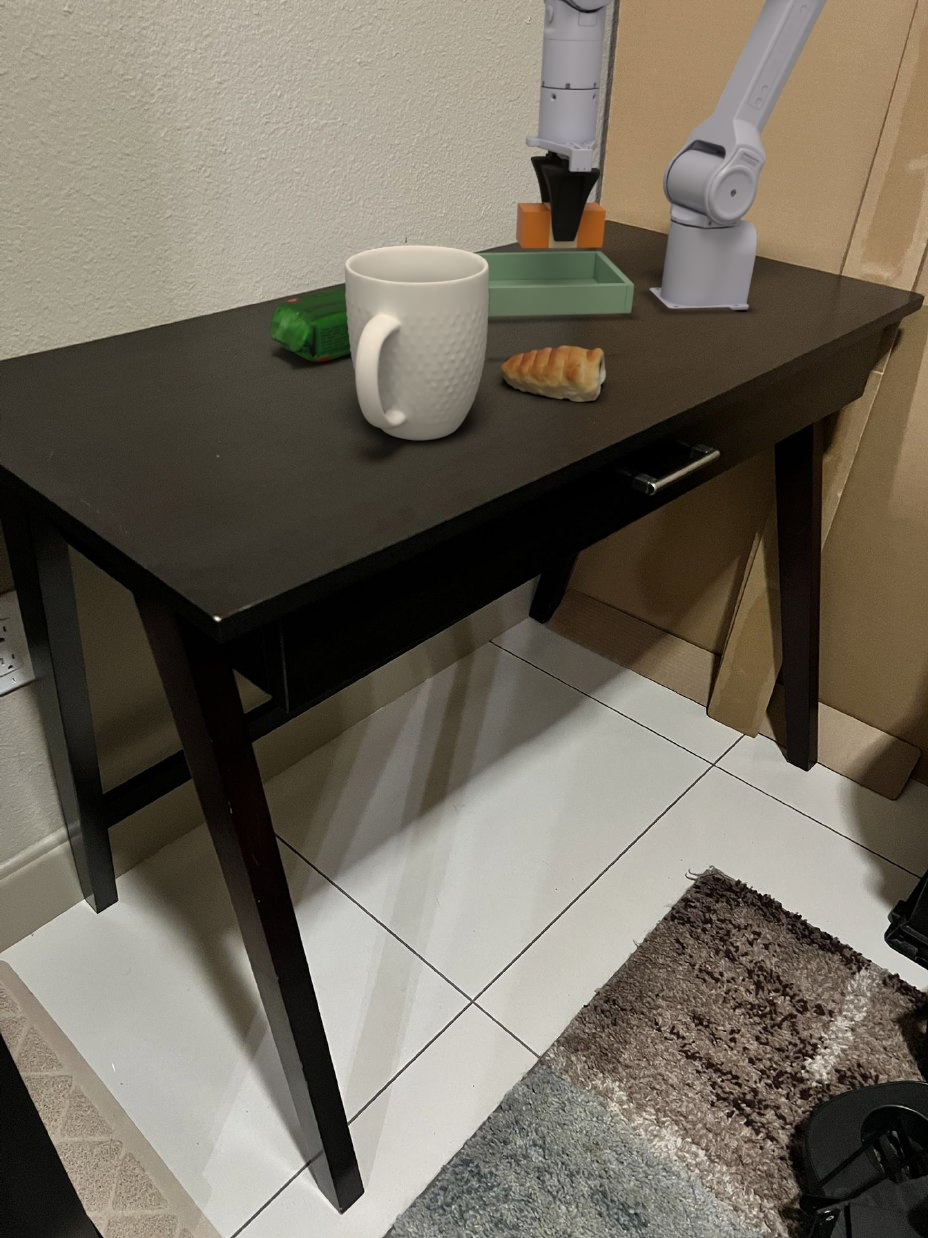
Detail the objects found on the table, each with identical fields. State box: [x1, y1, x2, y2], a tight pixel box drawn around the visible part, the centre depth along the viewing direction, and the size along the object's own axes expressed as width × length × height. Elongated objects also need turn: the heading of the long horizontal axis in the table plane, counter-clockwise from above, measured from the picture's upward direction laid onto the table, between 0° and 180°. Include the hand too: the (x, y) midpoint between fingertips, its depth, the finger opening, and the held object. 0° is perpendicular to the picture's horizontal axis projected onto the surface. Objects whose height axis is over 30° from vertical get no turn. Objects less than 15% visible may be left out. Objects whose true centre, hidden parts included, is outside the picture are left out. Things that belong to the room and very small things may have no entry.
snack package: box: [269, 286, 351, 363], centre depth 91 cm, size 7×16×5 cm, turn 131°
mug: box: [344, 244, 489, 441], centre depth 72 cm, size 15×11×13 cm
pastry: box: [500, 344, 607, 403], centre depth 83 cm, size 9×7×4 cm
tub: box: [473, 250, 635, 318], centre depth 106 cm, size 17×15×4 cm
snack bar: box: [515, 202, 607, 249], centre depth 96 cm, size 8×4×4 cm, turn 97°
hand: (559, 235), depth 97 cm, fingers closed on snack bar, 4 cm apart
